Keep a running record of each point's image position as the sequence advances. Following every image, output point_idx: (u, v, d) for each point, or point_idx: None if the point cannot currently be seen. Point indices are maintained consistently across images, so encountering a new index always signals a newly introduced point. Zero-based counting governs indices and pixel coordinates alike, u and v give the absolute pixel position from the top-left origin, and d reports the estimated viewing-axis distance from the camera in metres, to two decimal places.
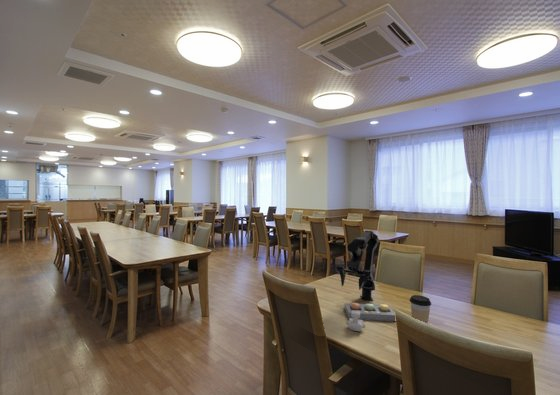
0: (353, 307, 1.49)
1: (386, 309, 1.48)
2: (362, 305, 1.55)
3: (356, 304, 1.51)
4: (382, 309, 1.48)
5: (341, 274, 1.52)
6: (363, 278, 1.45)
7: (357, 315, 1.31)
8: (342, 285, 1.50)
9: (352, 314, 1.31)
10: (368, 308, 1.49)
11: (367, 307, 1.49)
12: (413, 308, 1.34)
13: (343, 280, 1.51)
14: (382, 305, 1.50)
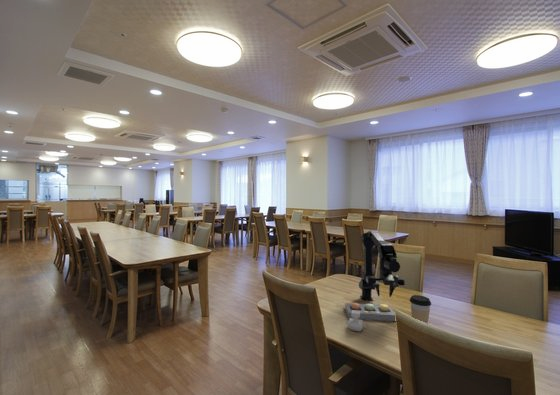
0: (353, 307, 1.49)
1: (386, 309, 1.48)
2: (362, 305, 1.55)
3: (356, 304, 1.51)
4: (382, 309, 1.48)
5: (377, 286, 1.48)
6: (394, 287, 1.48)
7: (357, 315, 1.31)
8: None
9: (352, 314, 1.31)
10: (368, 308, 1.49)
11: (367, 307, 1.49)
12: (413, 308, 1.34)
13: (378, 290, 1.50)
14: (382, 305, 1.50)
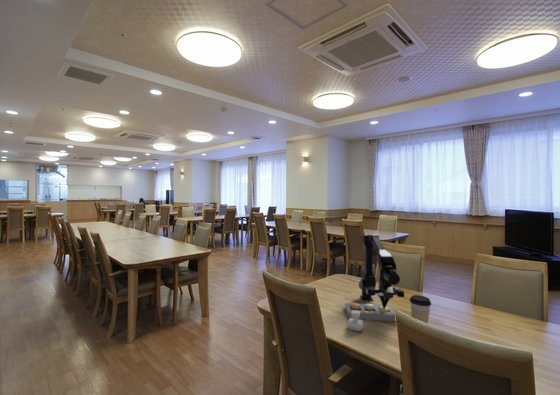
0: (353, 307, 1.49)
1: (386, 311, 1.48)
2: (362, 305, 1.55)
3: (356, 304, 1.51)
4: (382, 311, 1.48)
5: (382, 298, 1.48)
6: (388, 299, 1.48)
7: (357, 315, 1.31)
8: (384, 307, 1.50)
9: (352, 314, 1.31)
10: (368, 308, 1.49)
11: (367, 307, 1.49)
12: (413, 308, 1.34)
13: (383, 302, 1.50)
14: (382, 307, 1.50)
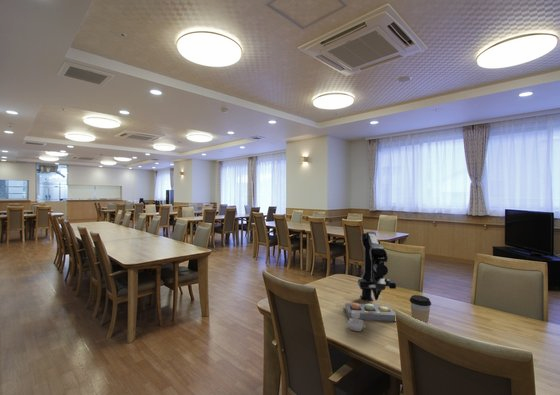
0: (353, 307, 1.49)
1: (386, 311, 1.48)
2: (362, 305, 1.55)
3: (356, 304, 1.51)
4: (382, 311, 1.48)
5: (374, 290, 1.48)
6: (380, 290, 1.48)
7: (357, 315, 1.31)
8: (376, 299, 1.50)
9: (352, 314, 1.31)
10: (368, 308, 1.49)
11: (367, 307, 1.49)
12: (413, 308, 1.34)
13: (375, 294, 1.50)
14: (382, 307, 1.50)
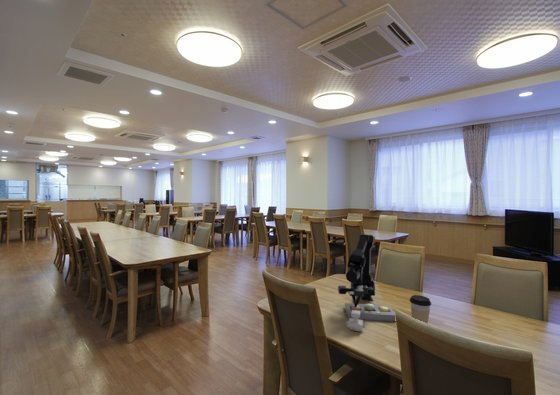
0: (353, 309, 1.49)
1: (386, 311, 1.48)
2: (362, 305, 1.55)
3: None
4: (382, 311, 1.48)
5: (353, 297, 1.49)
6: (359, 297, 1.49)
7: (357, 315, 1.31)
8: (355, 306, 1.50)
9: (352, 314, 1.31)
10: (368, 308, 1.49)
11: (367, 307, 1.49)
12: (413, 308, 1.34)
13: None
14: (382, 307, 1.50)
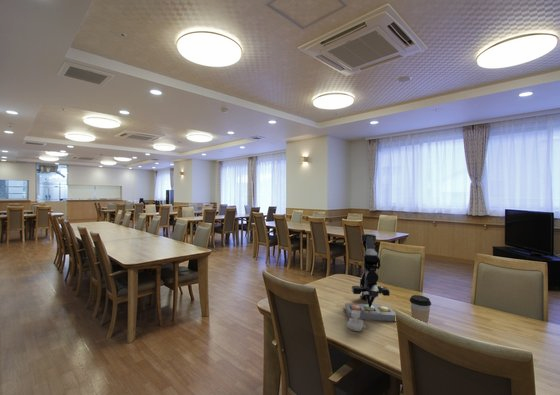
0: (353, 309, 1.49)
1: (386, 311, 1.48)
2: (362, 305, 1.55)
3: (356, 306, 1.51)
4: (382, 311, 1.48)
5: (368, 297, 1.49)
6: (374, 297, 1.48)
7: (357, 315, 1.31)
8: (369, 306, 1.50)
9: (352, 314, 1.31)
10: (368, 309, 1.49)
11: (367, 308, 1.49)
12: (413, 308, 1.34)
13: None
14: (382, 307, 1.50)
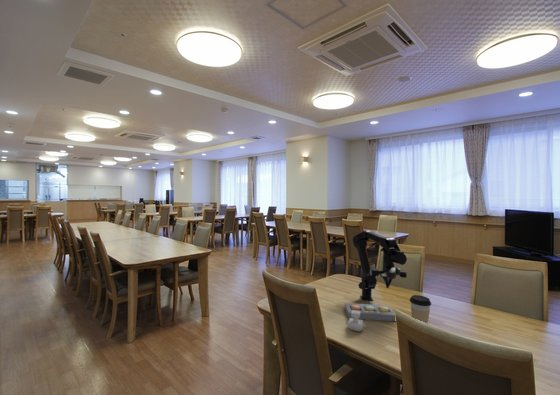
0: (353, 309, 1.49)
1: (386, 311, 1.48)
2: (362, 305, 1.55)
3: (356, 306, 1.51)
4: (382, 311, 1.48)
5: (386, 279, 1.57)
6: (391, 279, 1.56)
7: (357, 315, 1.31)
8: None
9: (352, 314, 1.31)
10: (368, 310, 1.49)
11: (367, 309, 1.49)
12: (413, 308, 1.34)
13: None
14: (382, 307, 1.50)
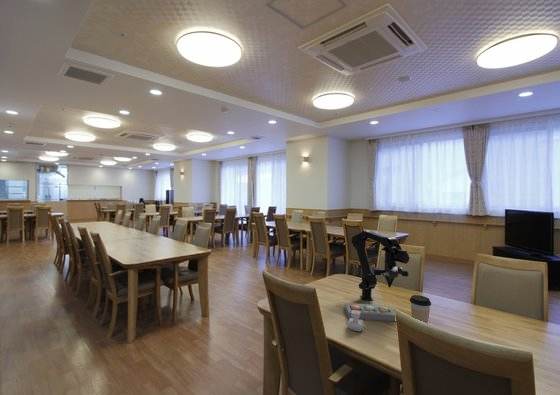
0: (353, 309, 1.49)
1: (386, 311, 1.48)
2: (362, 305, 1.55)
3: (356, 306, 1.51)
4: (382, 311, 1.48)
5: (388, 278, 1.58)
6: (393, 278, 1.57)
7: (357, 315, 1.31)
8: None
9: (352, 314, 1.31)
10: (368, 310, 1.49)
11: (367, 309, 1.49)
12: (413, 308, 1.34)
13: None
14: (382, 307, 1.50)
